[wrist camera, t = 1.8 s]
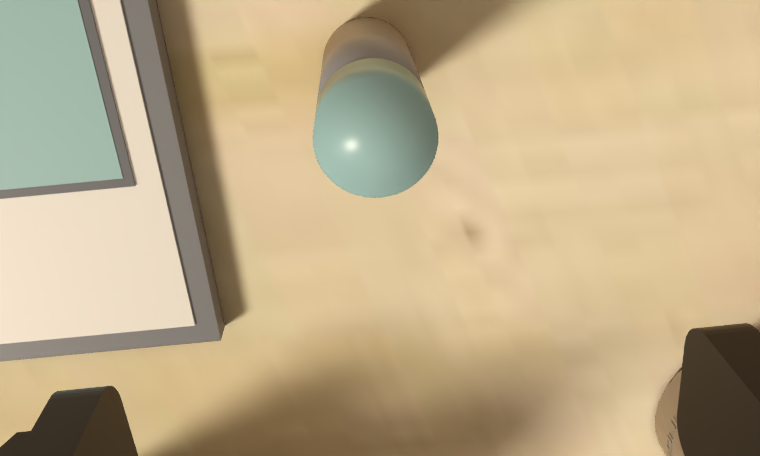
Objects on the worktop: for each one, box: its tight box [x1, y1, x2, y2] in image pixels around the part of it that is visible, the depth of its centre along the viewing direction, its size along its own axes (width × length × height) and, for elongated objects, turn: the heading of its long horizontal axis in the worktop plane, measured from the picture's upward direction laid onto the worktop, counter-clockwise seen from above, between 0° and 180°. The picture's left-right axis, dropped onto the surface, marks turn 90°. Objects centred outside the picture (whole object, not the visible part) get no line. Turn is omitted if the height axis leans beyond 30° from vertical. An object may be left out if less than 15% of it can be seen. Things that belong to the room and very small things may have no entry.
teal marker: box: [313, 17, 438, 198], centre depth 25 cm, size 4×4×10 cm
